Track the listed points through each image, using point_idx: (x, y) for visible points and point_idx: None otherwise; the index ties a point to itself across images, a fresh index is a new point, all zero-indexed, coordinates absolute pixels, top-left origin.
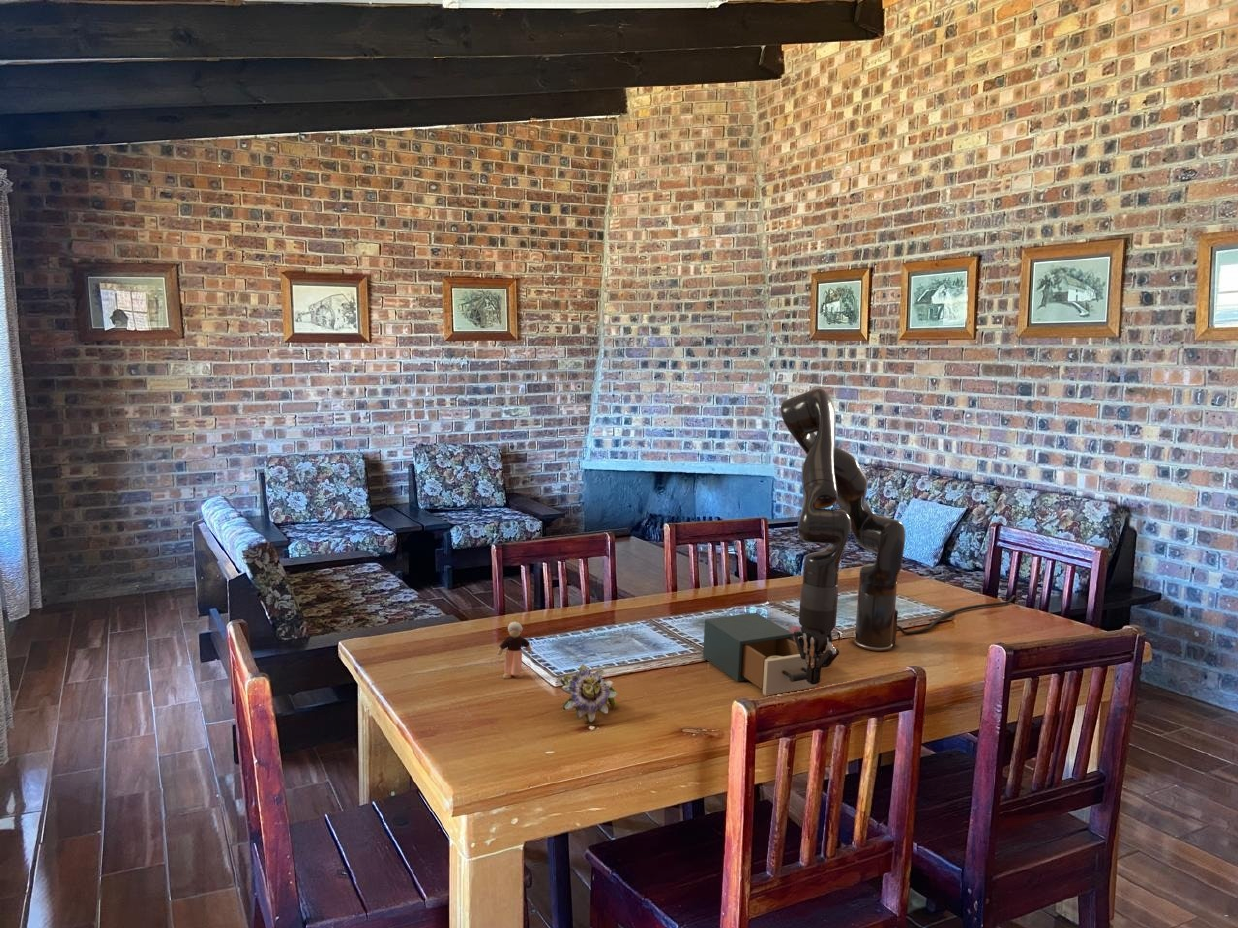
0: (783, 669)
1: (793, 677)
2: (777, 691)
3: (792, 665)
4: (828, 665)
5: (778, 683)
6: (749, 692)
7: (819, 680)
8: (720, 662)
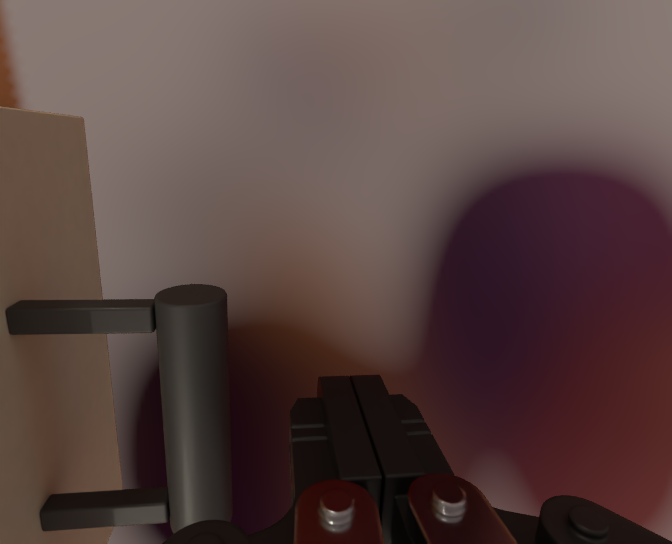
0: (34, 527)
1: None
2: (111, 439)
3: (6, 461)
4: (627, 531)
5: (92, 475)
6: None
7: (414, 409)
8: None
